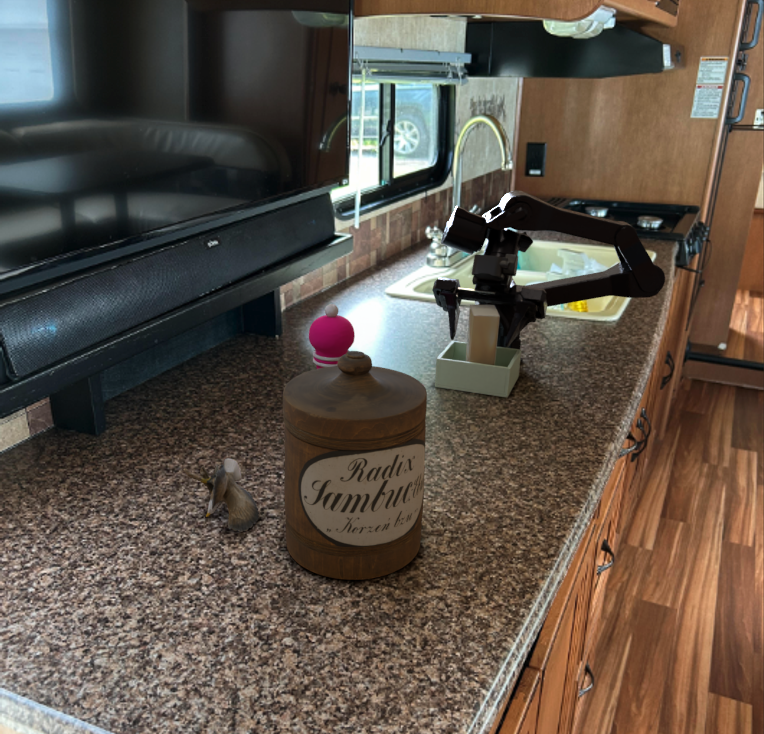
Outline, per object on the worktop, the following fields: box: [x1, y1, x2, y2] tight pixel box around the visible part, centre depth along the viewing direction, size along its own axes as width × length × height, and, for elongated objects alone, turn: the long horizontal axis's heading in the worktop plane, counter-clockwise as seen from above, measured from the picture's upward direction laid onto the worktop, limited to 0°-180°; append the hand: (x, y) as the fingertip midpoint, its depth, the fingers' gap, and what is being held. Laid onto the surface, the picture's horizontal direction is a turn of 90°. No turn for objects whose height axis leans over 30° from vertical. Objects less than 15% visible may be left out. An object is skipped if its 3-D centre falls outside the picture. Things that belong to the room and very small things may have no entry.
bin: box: [434, 340, 522, 399], centre depth 129 cm, size 12×10×5 cm
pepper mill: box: [308, 303, 356, 369], centre depth 103 cm, size 7×7×20 cm
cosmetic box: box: [465, 304, 500, 365], centre depth 128 cm, size 6×4×12 cm
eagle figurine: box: [182, 457, 260, 533], centre depth 89 cm, size 8×7×9 cm
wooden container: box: [282, 350, 428, 581], centre depth 80 cm, size 15×15×22 cm
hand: (478, 342), depth 126 cm, fingers open, 9 cm apart
